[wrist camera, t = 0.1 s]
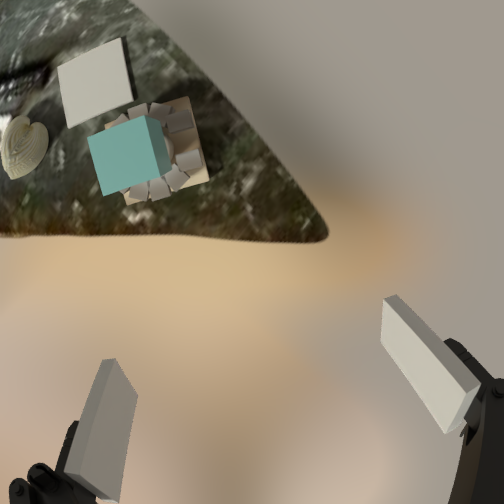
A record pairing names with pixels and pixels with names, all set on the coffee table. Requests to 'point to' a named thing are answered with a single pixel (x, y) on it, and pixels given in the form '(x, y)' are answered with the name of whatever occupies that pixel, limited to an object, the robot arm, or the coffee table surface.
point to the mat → (94, 83)
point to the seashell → (23, 146)
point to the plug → (130, 154)
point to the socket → (185, 150)
